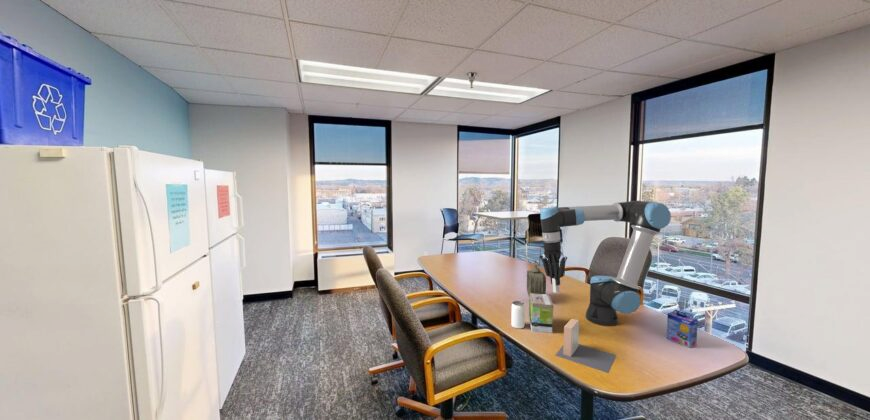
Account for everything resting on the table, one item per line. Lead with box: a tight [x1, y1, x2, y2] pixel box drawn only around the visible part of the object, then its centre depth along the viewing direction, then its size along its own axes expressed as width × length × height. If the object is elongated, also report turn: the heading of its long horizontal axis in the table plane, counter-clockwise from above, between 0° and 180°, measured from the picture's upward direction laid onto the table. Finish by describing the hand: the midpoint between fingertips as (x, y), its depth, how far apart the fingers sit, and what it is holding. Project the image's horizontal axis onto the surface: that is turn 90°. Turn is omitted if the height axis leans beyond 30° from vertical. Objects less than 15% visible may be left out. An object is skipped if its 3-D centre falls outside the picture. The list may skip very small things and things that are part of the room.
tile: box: [563, 318, 580, 357], centre depth 138 cm, size 3×10×12 cm, turn 141°
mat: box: [554, 343, 618, 374], centre depth 135 cm, size 20×16×1 cm
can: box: [510, 300, 526, 330], centre depth 163 cm, size 6×6×12 cm
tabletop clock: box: [526, 259, 547, 298], centre depth 196 cm, size 14×9×25 cm, turn 172°
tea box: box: [528, 293, 554, 334], centre depth 162 cm, size 15×10×15 cm
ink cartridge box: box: [666, 310, 699, 349], centre depth 146 cm, size 10×6×14 cm, turn 27°
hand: (556, 291), depth 149 cm, fingers closed
